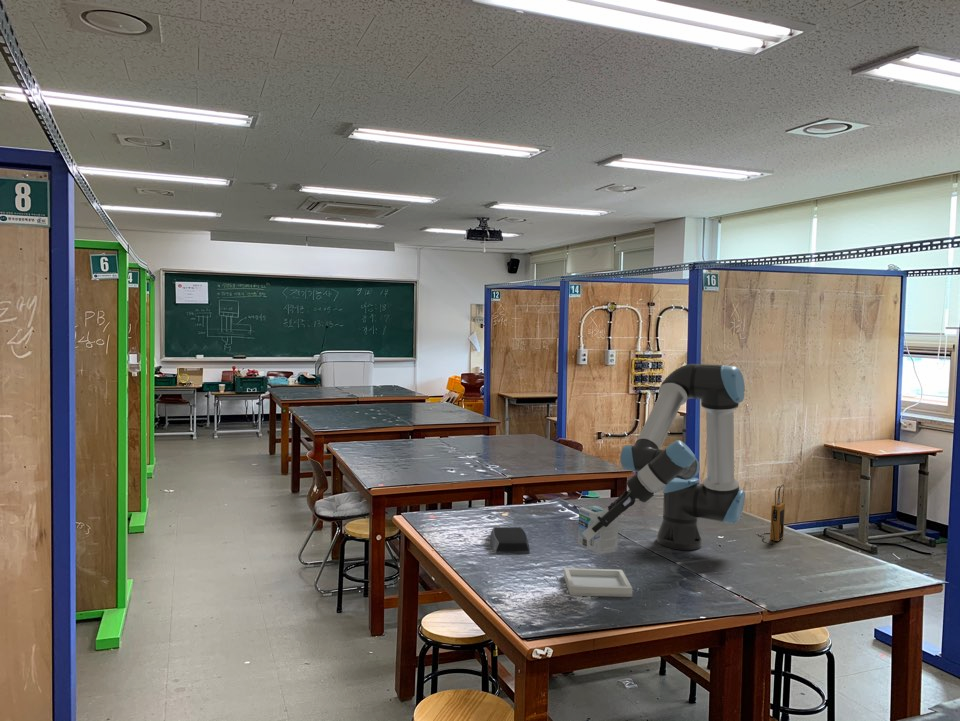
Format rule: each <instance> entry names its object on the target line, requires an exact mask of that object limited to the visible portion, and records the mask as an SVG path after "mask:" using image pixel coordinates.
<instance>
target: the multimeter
mask: <svg viewBox="0 0 960 721" xmlns="http://www.w3.org/2000/svg"><path fill="white" fill-rule="evenodd" d="M782 487H785V484H781V485H780V486H776V488H775V490H774V491H775V492H774V503H772V504H771V513H770V532H765V531H764V532H763V534H764V533H770V538H769V540H770V541H771V540H773V541H772V544H775V541H779V540H780V539H781V540H782V538H784V531H785V530H784V529H785V511H786V510H785V509H786V503H785V502H784V498H782V499H781V500H782V501H781V500H780V498H781V496H780V494H781V493H780V492H781V488H782ZM777 489H778V491H777ZM776 493H777V495H776ZM784 495H785V488H783V490H782V497H784ZM776 496H777V497H776ZM758 534H759V535H758ZM763 534H760V532H756V535H758V536H760V535H761V536H760V537H763V538H761V540H763V541H764V537H765V536H764V535H763ZM781 540H780V541H781ZM780 541H779V542H780Z"/></svg>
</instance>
